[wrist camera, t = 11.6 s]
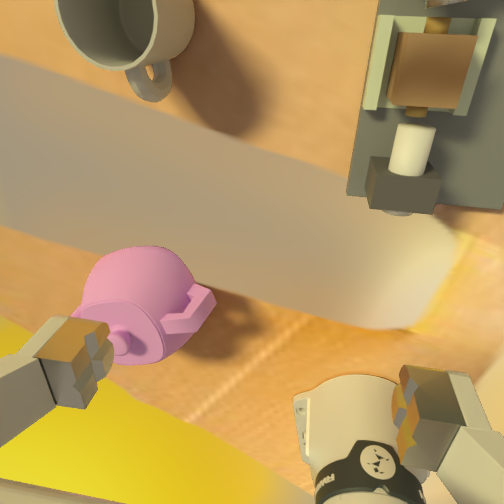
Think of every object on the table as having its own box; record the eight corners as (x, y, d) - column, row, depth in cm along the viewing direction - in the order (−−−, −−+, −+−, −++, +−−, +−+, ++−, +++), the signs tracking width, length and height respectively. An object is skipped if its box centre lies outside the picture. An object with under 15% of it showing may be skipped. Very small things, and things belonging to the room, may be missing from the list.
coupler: (401, 16, 29) (412, 15, 25) (462, 18, 28) (483, 17, 24) (383, 108, 32) (390, 119, 28) (437, 111, 32) (452, 123, 28)
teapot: (62, 253, 48) (-3, 308, 39) (206, 225, 42) (172, 282, 33) (108, 332, 54) (63, 396, 45) (240, 316, 48) (220, 386, 39)
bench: (495, 204, 36) (525, 234, 31) (346, 190, 38) (349, 217, 32) (625, -121, 24) (708, -161, 19) (399, -119, 26) (417, -156, 21)
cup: (184, -49, 30) (136, -74, 22) (213, 86, 35) (182, 103, 27) (104, -27, 32) (34, -43, 24) (142, 99, 36) (94, 118, 29)
